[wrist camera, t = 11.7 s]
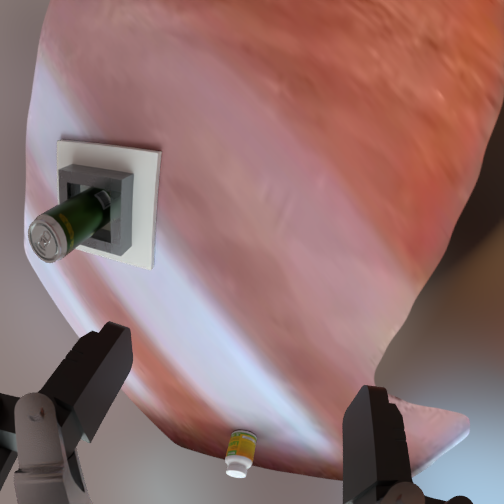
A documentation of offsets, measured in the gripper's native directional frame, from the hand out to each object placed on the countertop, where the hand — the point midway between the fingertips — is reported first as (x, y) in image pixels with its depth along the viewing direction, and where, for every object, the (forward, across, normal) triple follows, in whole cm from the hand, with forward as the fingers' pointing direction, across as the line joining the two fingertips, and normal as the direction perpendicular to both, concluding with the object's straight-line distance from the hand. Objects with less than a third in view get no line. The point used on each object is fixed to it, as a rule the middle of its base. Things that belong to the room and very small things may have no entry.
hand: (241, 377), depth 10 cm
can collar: (+28, +23, +8) cm, 37 cm away
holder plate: (+28, +23, +8) cm, 37 cm away
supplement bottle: (+28, -4, +53) cm, 60 cm away
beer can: (+27, +23, +8) cm, 36 cm away
